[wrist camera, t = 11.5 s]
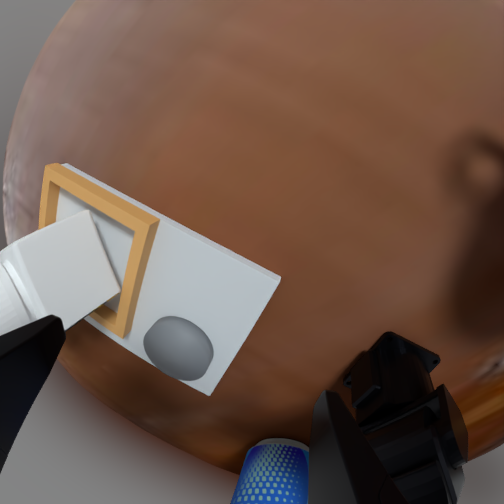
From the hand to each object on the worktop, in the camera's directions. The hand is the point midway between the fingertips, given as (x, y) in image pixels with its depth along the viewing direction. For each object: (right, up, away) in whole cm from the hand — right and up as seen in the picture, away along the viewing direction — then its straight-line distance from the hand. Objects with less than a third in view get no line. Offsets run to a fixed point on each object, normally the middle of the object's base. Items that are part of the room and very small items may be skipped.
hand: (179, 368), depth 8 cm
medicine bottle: (-12, +3, +14) cm, 19 cm away
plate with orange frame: (-8, +1, +16) cm, 18 cm away
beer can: (+6, -20, +21) cm, 30 cm away
